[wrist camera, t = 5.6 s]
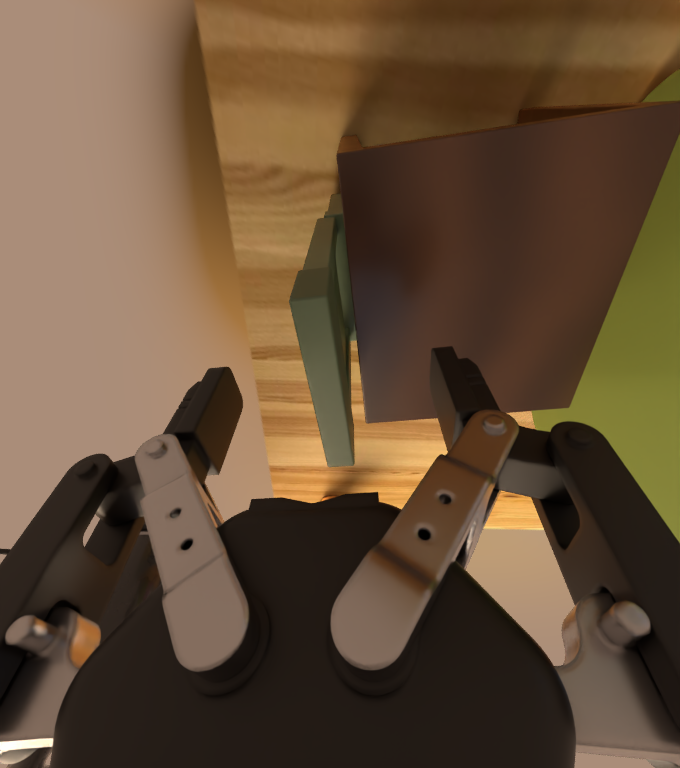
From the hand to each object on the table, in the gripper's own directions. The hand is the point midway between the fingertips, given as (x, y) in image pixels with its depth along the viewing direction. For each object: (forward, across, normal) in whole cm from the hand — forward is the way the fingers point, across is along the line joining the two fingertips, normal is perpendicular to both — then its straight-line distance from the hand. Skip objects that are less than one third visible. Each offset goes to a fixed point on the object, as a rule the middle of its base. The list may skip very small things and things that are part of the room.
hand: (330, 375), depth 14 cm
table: (+16, -7, 0) cm, 18 cm away
